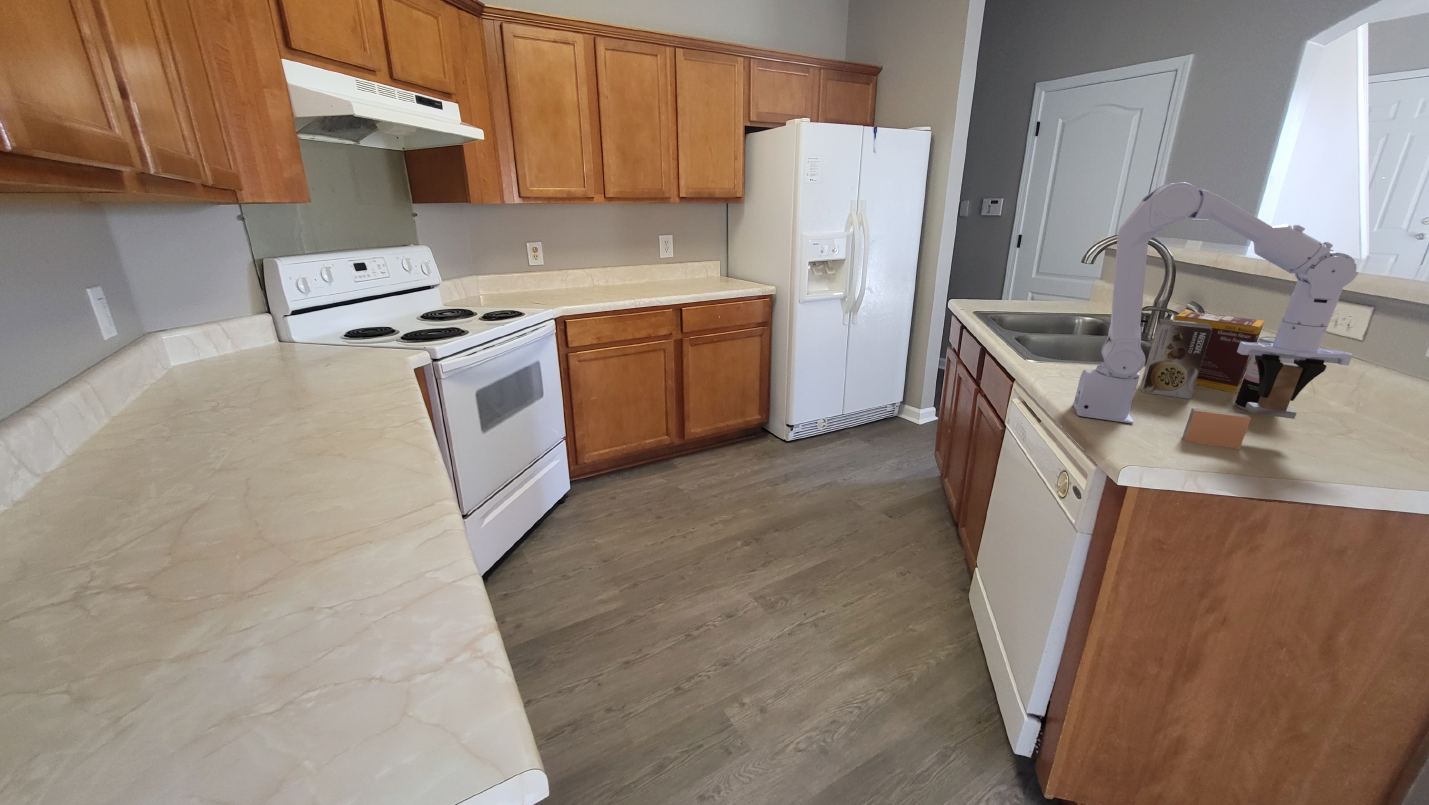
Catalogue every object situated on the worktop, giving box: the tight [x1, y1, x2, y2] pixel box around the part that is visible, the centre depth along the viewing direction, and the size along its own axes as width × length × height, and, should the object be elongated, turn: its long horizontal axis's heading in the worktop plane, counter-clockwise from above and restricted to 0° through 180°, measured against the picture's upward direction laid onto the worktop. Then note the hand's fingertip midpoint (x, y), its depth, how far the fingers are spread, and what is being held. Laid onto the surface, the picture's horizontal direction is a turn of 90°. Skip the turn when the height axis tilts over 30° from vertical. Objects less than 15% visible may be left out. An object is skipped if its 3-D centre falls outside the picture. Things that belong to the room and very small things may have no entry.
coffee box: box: [1139, 318, 1212, 400], centre depth 128 cm, size 9×6×16 cm
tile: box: [1181, 407, 1252, 450], centre depth 103 cm, size 8×2×6 cm, turn 66°
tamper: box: [1245, 362, 1303, 420], centre depth 102 cm, size 6×3×9 cm, turn 66°
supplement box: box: [1173, 310, 1265, 393], centre depth 137 cm, size 10×15×16 cm
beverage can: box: [1234, 335, 1294, 411], centre depth 119 cm, size 6×6×15 cm
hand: (1275, 397), depth 103 cm, fingers closed on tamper, 3 cm apart
